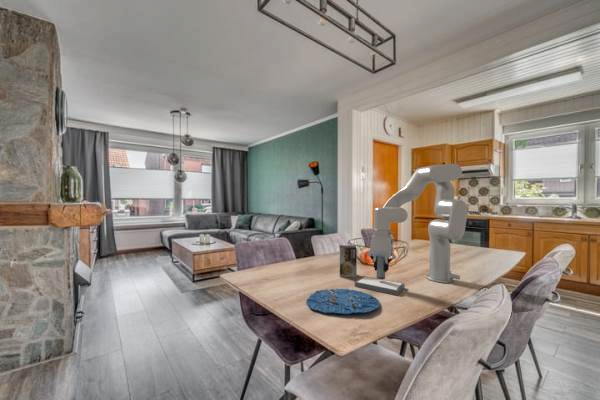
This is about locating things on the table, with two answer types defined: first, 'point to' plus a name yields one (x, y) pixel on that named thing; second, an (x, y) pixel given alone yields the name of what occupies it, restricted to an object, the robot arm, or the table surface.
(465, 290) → the table surface
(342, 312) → the decorative plate
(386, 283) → the drawing board
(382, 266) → the marker
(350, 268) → the coffee box
